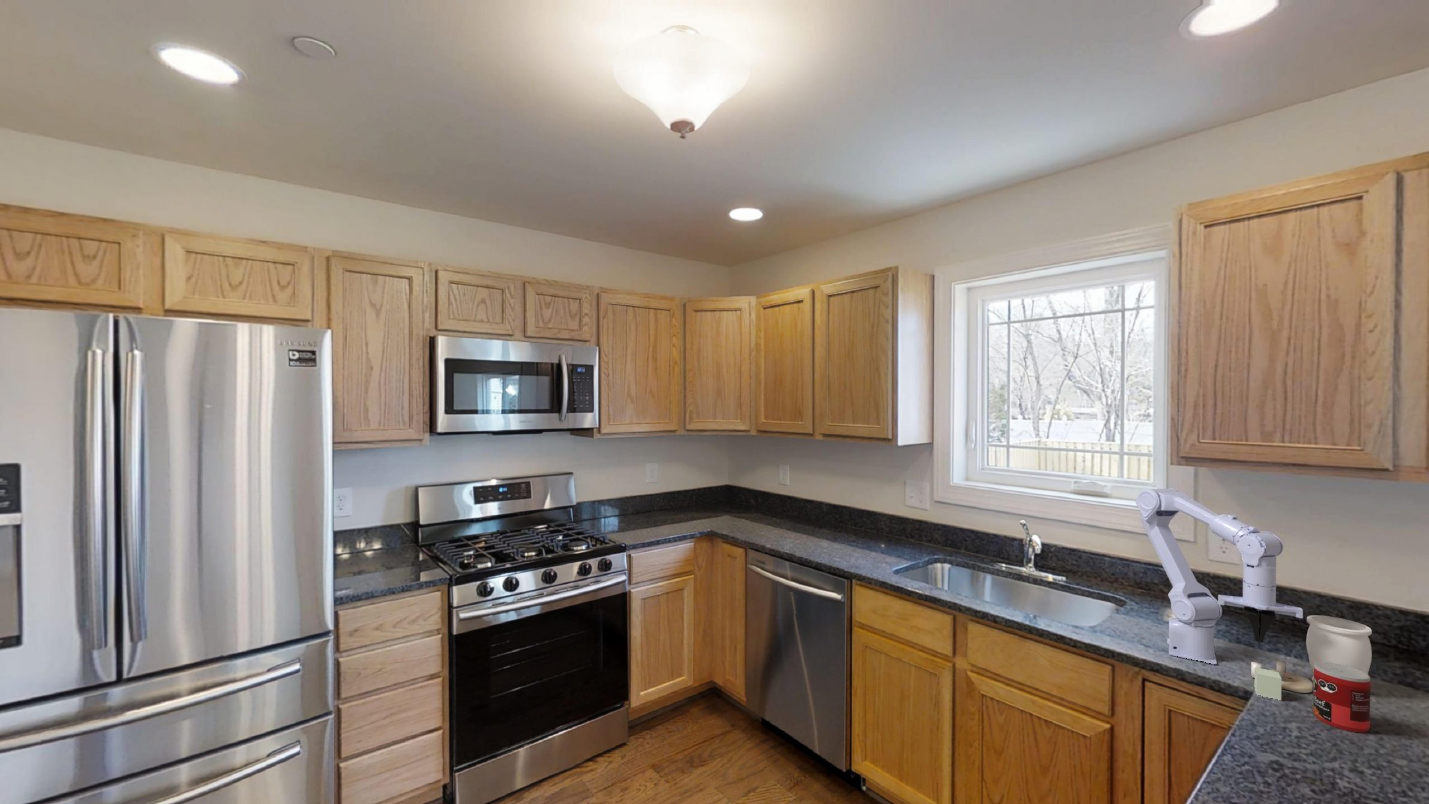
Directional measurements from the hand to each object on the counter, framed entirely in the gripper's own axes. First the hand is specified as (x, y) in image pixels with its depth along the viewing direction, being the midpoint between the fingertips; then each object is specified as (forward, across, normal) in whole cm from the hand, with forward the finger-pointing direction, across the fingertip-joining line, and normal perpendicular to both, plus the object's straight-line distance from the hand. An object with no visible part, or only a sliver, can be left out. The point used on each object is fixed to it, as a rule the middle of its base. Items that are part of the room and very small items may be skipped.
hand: (1258, 640), depth 137 cm
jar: (+10, +15, +9) cm, 20 cm away
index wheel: (+10, +5, +3) cm, 12 cm away
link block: (+10, +1, -6) cm, 12 cm away
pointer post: (+10, 0, +3) cm, 10 cm away
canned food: (+10, +11, -12) cm, 20 cm away
